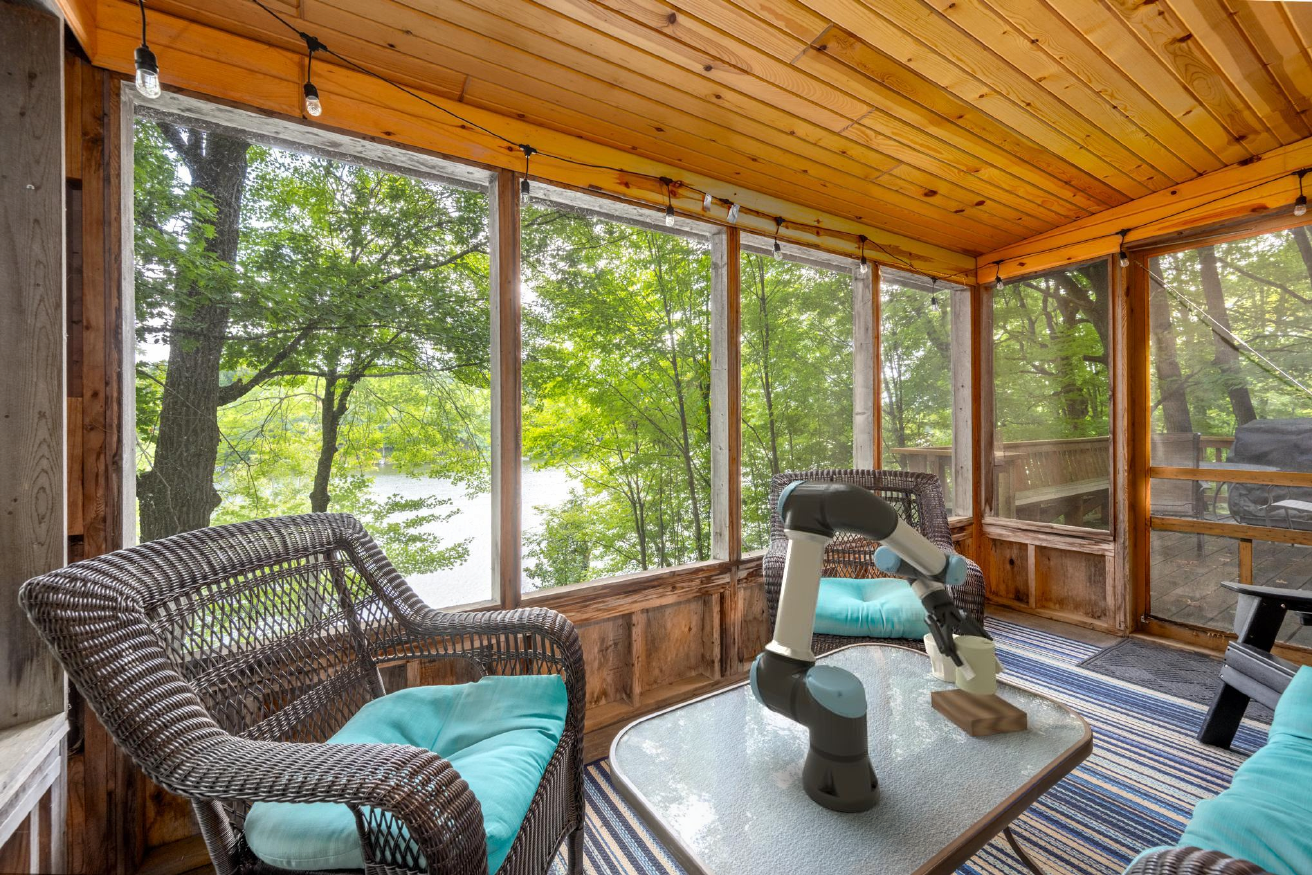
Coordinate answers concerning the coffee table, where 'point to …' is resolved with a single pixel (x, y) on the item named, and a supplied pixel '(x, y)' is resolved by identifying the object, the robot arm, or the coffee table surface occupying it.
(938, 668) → the cup
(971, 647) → the can
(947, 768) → the coffee table surface
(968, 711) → the plinth
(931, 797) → the coffee table surface
